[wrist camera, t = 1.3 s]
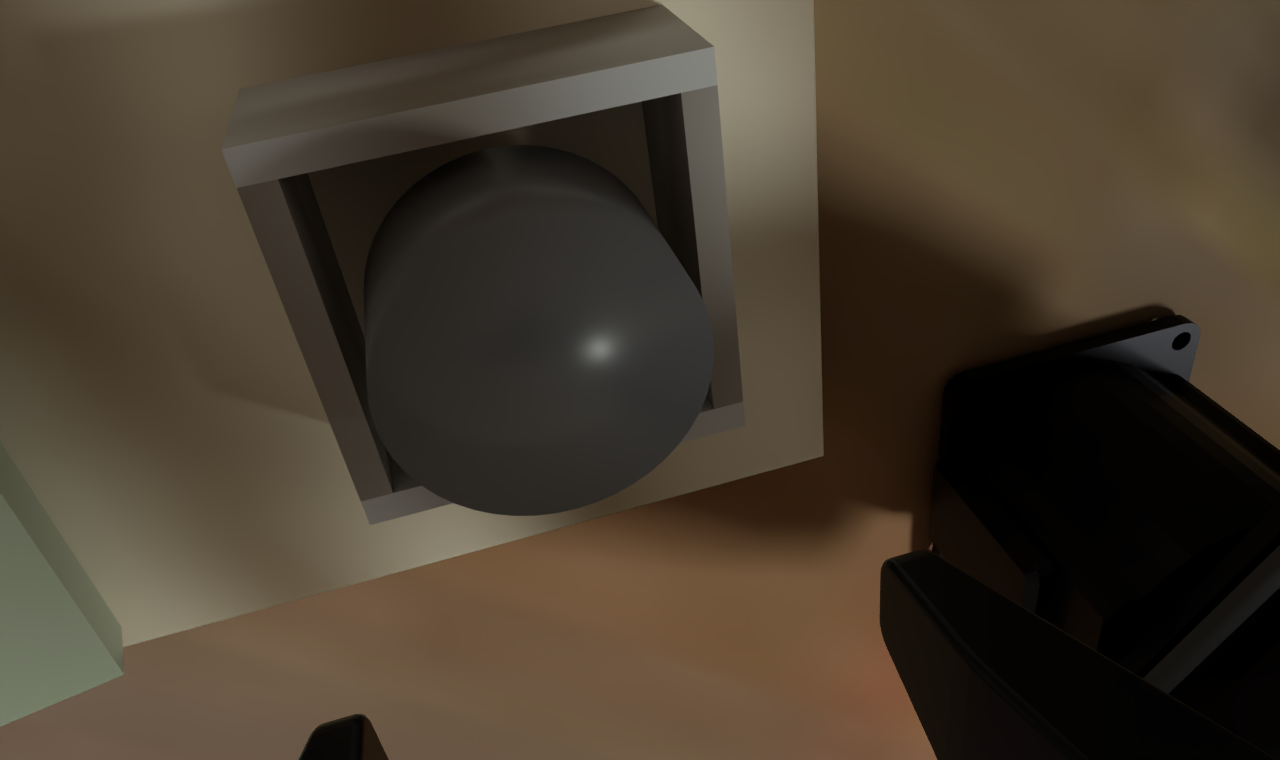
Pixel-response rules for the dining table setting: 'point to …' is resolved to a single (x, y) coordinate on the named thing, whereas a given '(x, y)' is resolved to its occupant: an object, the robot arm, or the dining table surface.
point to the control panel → (354, 261)
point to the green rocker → (46, 609)
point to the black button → (529, 334)
